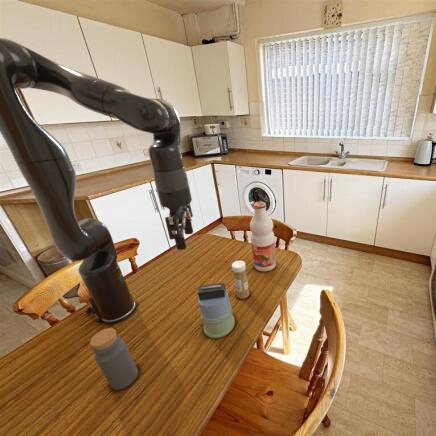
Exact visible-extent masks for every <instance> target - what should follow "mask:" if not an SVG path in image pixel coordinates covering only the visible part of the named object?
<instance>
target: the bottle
mask: <svg viewBox="0 0 436 436" xmlns="http://www.w3.org/2000/svg"><path fill="white" fill-rule="evenodd" d="M89 344H90V346H91V351H92V352H93V354H94V360H95V362H96V363H97V366H98V367H99V369H100V370H101V372H102V374H103V376H104V377H105V379H106V381H107V382H108V384H109V386H110V387H111V388H112V389H113V390H116V391H120V390H123V389H126V388H127V387H129V386H130V385H131V384H133V382H134V381H135V380H136V378H138V375H139V369H138V367H137V365H136V362H135V360H134V358H133V356H132V355H131V352H130V350H129V348H128V346H127V344H126V343H125V340H123V339H122V338H121V337H120V335H119V334H118V333H117V331H116V329H115V328H112V327H108V328H103V329H102V330H100V331H98V332H97V333H95V334H94V335H93V336H92V337H91V339H90V341H89Z"/></svg>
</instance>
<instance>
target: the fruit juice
mask: <svg viewBox="0 0 436 436" xmlns="http://www.w3.org/2000/svg"><path fill="white" fill-rule="evenodd" d="M252 208H253V215H252V218H251V220H250V222H249V229H250V233H251V234H250V243H251V250H252V251H251V252H252V258H253V259H252V260H253V265H254V268H255V269H256V270H257V271H259V272H269V271H272V270H273V269H275V267H276V265H277V253H276V239H275V233H274V231H273V229H274V222H273V220H272V218H271V217H270V216H269V215H268V212H267V203H266V202H264V201H256V202H254V203H253V204H252Z"/></svg>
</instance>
